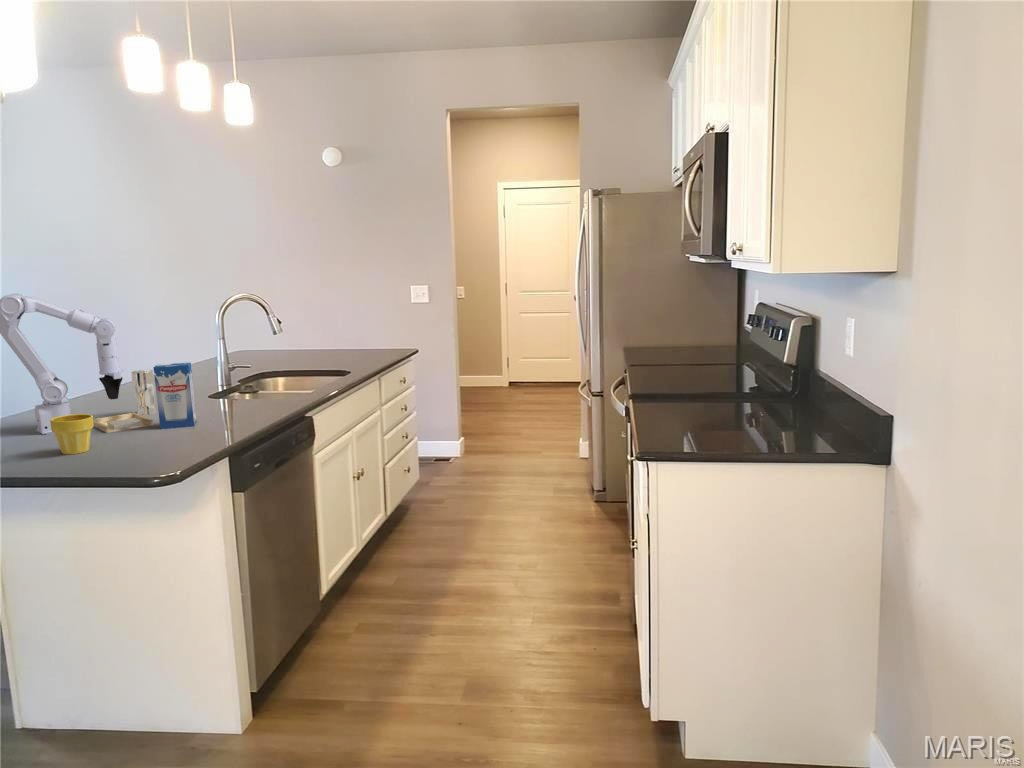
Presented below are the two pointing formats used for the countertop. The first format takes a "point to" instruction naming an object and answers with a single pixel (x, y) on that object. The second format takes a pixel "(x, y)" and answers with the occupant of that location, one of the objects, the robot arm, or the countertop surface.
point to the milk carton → (175, 395)
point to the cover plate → (124, 423)
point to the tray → (102, 422)
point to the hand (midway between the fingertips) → (113, 398)
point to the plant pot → (73, 432)
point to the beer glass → (144, 391)
